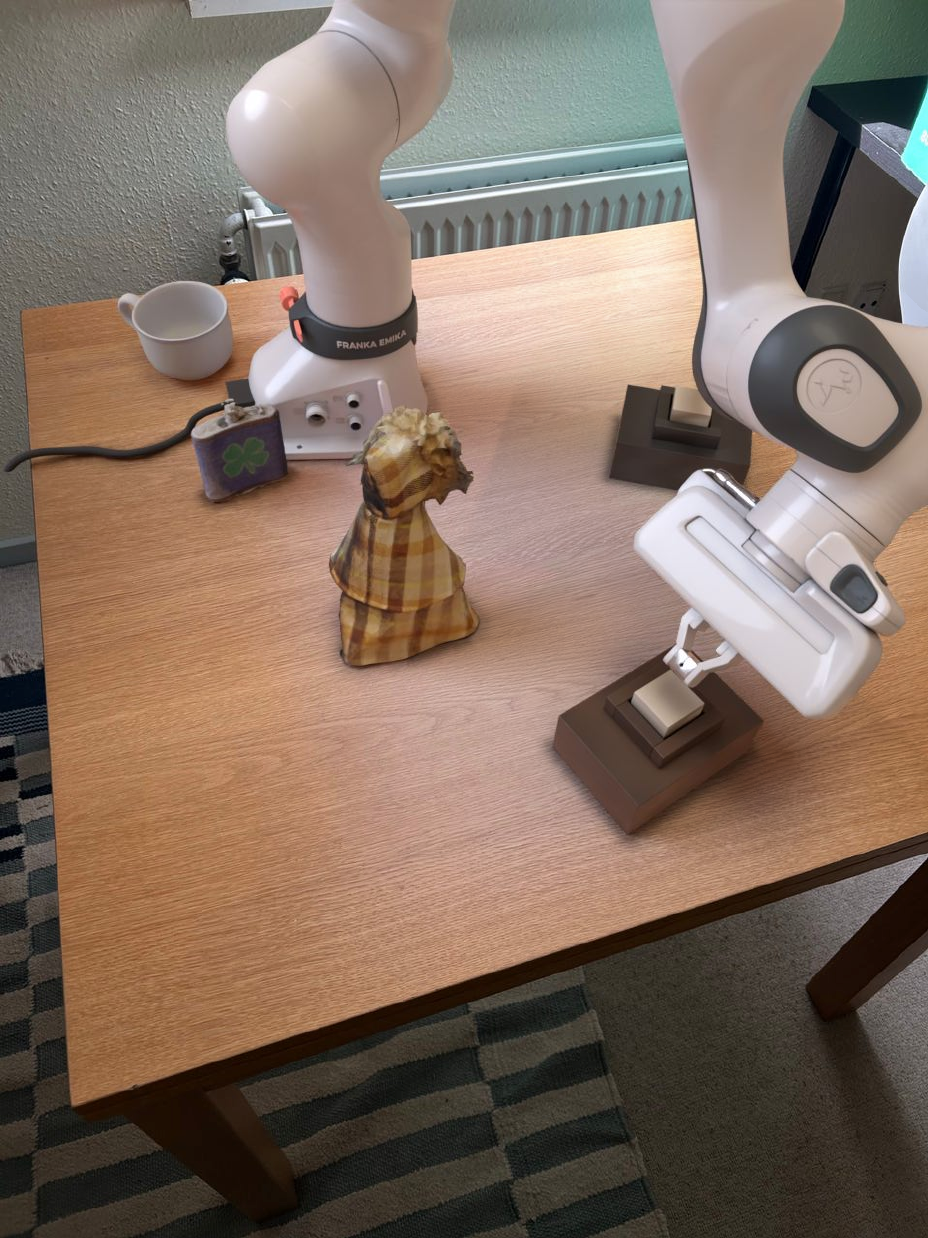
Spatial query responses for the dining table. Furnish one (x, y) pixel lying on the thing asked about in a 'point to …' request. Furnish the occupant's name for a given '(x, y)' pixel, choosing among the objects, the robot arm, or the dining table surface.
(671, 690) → the key near
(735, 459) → the stepped block
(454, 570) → the plush toy
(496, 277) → the dining table surface
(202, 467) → the flask
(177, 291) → the teacup
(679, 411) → the key far
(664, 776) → the push button box
